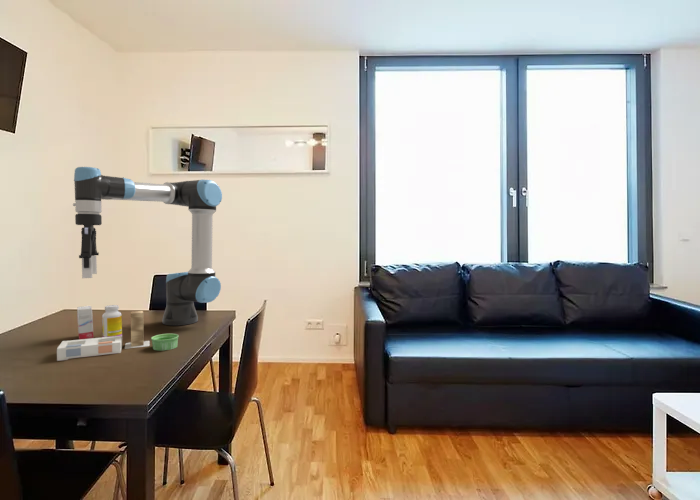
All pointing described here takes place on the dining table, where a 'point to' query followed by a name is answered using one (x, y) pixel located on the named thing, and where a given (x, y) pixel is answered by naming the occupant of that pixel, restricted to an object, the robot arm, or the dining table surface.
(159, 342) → the ramekin
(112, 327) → the supplement bottle
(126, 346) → the mat
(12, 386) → the dining table surface
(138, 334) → the oak peg
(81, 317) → the ink box
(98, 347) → the socket board
